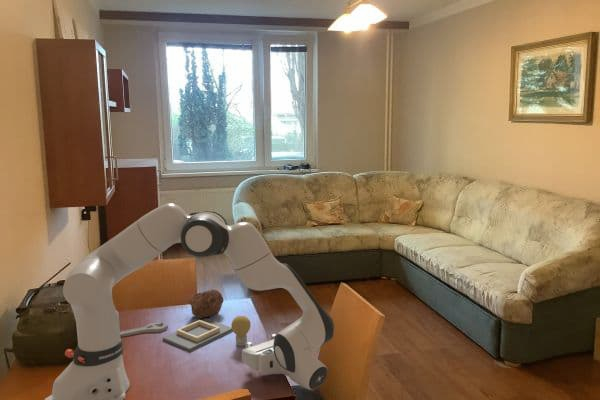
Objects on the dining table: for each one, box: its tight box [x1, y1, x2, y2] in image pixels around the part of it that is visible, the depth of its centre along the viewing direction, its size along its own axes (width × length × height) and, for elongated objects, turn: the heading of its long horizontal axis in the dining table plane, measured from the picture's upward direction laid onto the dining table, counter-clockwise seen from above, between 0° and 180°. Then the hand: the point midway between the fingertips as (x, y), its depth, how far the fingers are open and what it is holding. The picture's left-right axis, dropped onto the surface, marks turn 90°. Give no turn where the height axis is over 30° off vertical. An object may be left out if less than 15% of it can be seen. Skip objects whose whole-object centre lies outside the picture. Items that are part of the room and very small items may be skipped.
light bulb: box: [230, 315, 252, 347], centre depth 172 cm, size 6×6×10 cm
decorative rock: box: [188, 289, 224, 319], centre depth 197 cm, size 13×11×10 cm
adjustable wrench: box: [120, 321, 169, 338], centre depth 183 cm, size 25×6×2 cm, turn 111°
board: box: [162, 317, 233, 352], centre depth 180 cm, size 20×14×2 cm
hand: (260, 340), depth 163 cm, fingers open, 8 cm apart
